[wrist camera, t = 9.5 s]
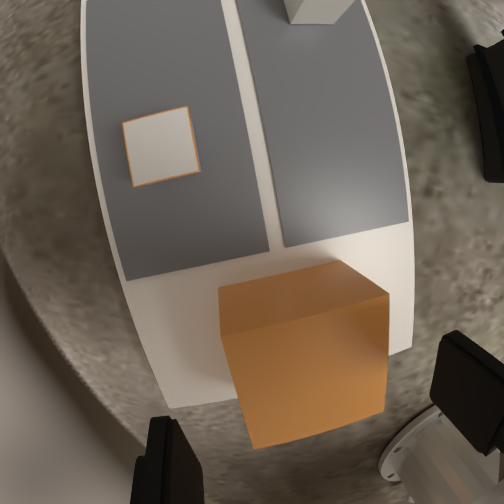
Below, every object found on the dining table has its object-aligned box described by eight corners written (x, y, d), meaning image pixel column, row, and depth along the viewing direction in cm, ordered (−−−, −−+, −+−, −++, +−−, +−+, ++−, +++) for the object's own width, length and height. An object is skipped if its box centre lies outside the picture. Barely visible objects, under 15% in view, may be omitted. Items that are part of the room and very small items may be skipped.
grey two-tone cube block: (203, 173, 13) (200, 171, 11) (149, 185, 13) (133, 187, 10) (193, 121, 13) (187, 105, 10) (140, 133, 13) (122, 122, 10)
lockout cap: (347, 359, 17) (383, 411, 12) (243, 386, 17) (253, 449, 12) (340, 259, 16) (389, 293, 11) (217, 287, 15) (220, 336, 10)
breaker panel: (393, 330, 20) (413, 348, 17) (172, 385, 19) (168, 411, 16) (324, -43, 13) (337, -64, 10) (95, -14, 12) (82, -34, 9)
